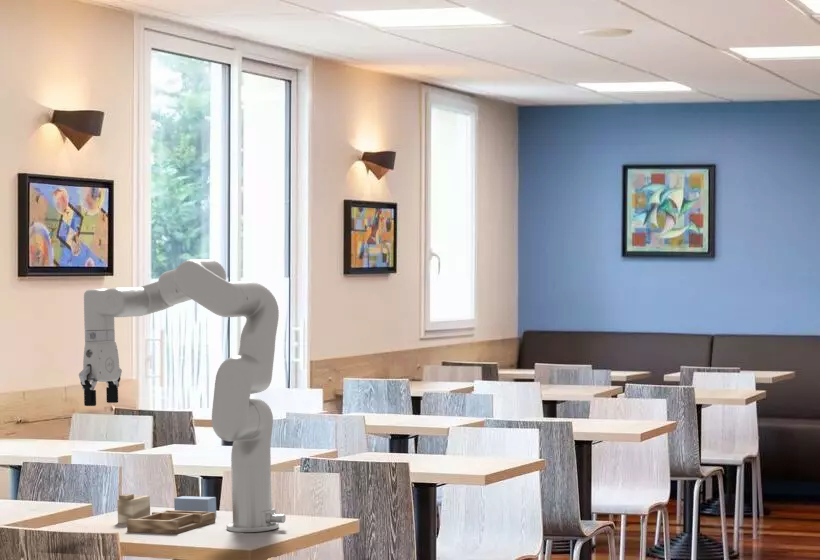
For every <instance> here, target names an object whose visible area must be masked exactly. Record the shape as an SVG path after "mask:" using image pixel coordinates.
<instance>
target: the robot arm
mask: <svg viewBox="0 0 820 560" xmlns="http://www.w3.org/2000/svg"><path fill="white" fill-rule="evenodd" d="M187 301H194V302H196V304H199V305H200V306H202V307H203V308H204V309H206V310H208V311H209V312H211V313H213V314H215V315H216V316H220V317H221V318H239V317H245V318H246V321H245V323H244V326H243V328H242V330H241V334H240V337H239V338H240V339H239V341H240V342H239V349H238V355H233V356H230V357H228V358H227V359H225V360H224V361H222V363H221V364H220V365H219V368H218V369H217V371H216V374H215V375H216V376H215V380H214V381H215V382H214V389H213V401H212V409H211V425H212V429H213V432H214V433H215V435H216V436H217V437H218V438H219V439H220V440H223V441H225V442H232V445H231V446H232V447H231V453H230V454H231V456H230V461H231V462H230V464H231V465H230V466H231V468H230V469H231V499H232V503H231V505H232V522H230V523H227V524H226V530H227V531H229V532H232V533H233V532H234V533H260V532H268V531H272V530H276V529H278V528H279V526H280V525H279V524H284V523H285V522H286V514H284V513H283V514H282V513H280V514H278V513H277V511H276V510H277V509H276V508H273V506H272V503H273V502H272V499H273V498H272V472H271V471H272V470H271V469H272V467H271V464H272V463H271V443H272V434H273V429H274V428H273V426H274V416H273V412H272V410H271V408H270V406H269V405H268V403H267V402H266V401H264V400H261V399H259V398H255V397H251V395H252V394H253V395H254V394H260V393H262V392H264V391H266V390H268V388H269V387H270V385H271V384H272V378H273V370H274V362H275V350H276V338H277V331H278V325H279V314H280V312H279V306H278V302H277V300H276V298H275V296H274V294H273V293H272V292H271V291H270V290H269V289H268V288H267V287H265V286H264V285H262V284H260V283H257V282H254V281H227V273H226V271H225V268H224V267H223V265H222V264H221V263H220V262H217V261H216V260H213V259H203V258H201V259H200V258H199V259H186V260H183V262H181V263H180V264H179V265H178V266H177V267H176V268H174V269H171V270H166V271H165V272H162V273H161V274H160V276H159V278H158V281H154V282H153V283H149V284H146V285H142V286H137V287H134V286H133V287H132V286H129V287H127V286H125V287H112V288H93V289H88V290H87V289H86V290H85V292H84V293H83V315H84V316H83V317H84V350H83V362H82V363H83V366H82V368H83V369H82V370H81V371H80V372H79V373H78V377H79V380H80V384H81V386H82V390H83V402H84V406H85V407H96V405H97V391H96V389H95V387H96V385H97V383H98V382H99V383H104V382H105V384H106V385H107V386H106V388H105V389H106V390H105V391H106V392H105V394H106V403H107V404H112V403H113V404H117V403H119V387H120V381H121V376H122V372H123V371H122V369H121V368H120V358H119V351H118V350H119V349H118V346H117V342H116V339H115V338H116V336H115V335H116V332H115V318H128V317H131V318H132V317H133V318H134V317H142V316H147V315H150V314H154V313H157V312H160V311H163V310H166V309H169V308H170V307H173V306H175V305H178V304H181V303H184V302H187Z"/></svg>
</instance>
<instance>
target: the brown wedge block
mask: <svg viewBox="0 0 820 560" xmlns="http://www.w3.org/2000/svg"><path fill="white" fill-rule="evenodd" d="M116 501H117V523H118V524H126V525H127V519H138V518H141V517H145V516H149V515H151V496H150V495H139V494H135V493H123V494H119V495H118V499H116Z"/></svg>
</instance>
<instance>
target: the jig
mask: <svg viewBox="0 0 820 560" xmlns="http://www.w3.org/2000/svg"><path fill="white" fill-rule="evenodd" d="M213 523H216V516H215V512H201V511H175V509H174V510H171V509H169V510H168V509H166V510H164V511H161V512H159V511H152V512H151V514H150V515H149V516H145V517H141V518H138V519H127V524H126V532H128V533H129V532H130V533H149V534H150V533H151V534H170V535H171V534H172V535H174V534H175V535H178V534H181V533H184V532H188V531H190V530H193V529H197V528H201V527H204V526H207V525H211V524H213Z"/></svg>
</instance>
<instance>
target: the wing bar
mask: <svg viewBox="0 0 820 560" xmlns="http://www.w3.org/2000/svg"><path fill="white" fill-rule="evenodd" d="M173 499H174V500H173V501H174V502H173V503H174V507H173V508H174V510H175V511H201V512H215V517H217V497H216V496H194V495H191V496H190V495H188V496H187V495H182V496H177V497H175V498H173Z"/></svg>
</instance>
